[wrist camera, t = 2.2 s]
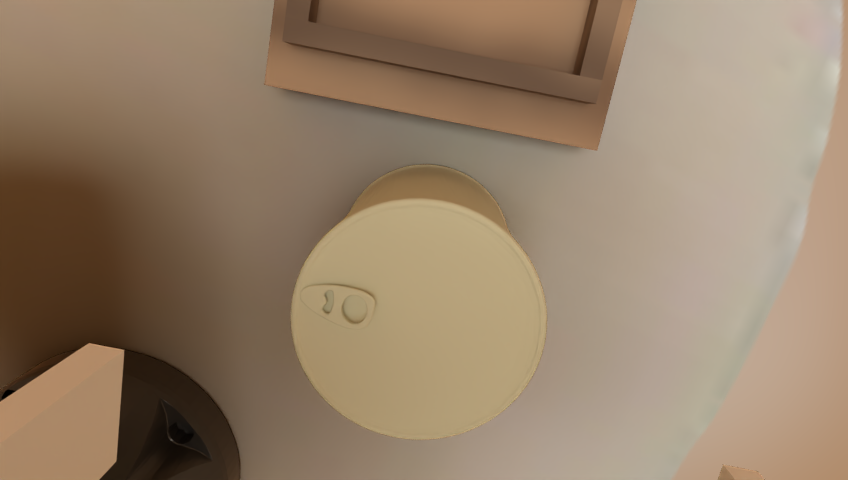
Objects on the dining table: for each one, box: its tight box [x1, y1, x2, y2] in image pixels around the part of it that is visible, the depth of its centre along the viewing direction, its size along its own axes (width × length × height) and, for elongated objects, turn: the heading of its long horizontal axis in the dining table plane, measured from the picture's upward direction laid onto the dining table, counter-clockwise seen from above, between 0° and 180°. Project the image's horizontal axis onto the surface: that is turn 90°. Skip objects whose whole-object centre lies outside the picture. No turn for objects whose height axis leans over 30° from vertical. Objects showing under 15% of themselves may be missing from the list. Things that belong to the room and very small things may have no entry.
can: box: [291, 164, 547, 440], centre depth 25 cm, size 9×9×12 cm
